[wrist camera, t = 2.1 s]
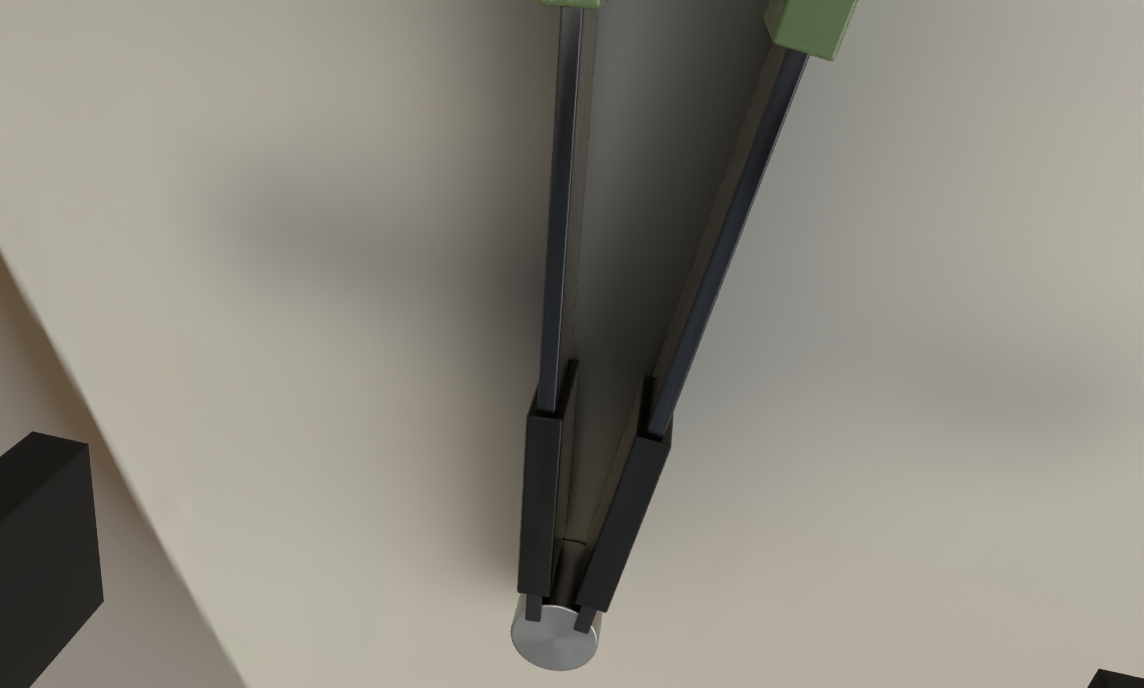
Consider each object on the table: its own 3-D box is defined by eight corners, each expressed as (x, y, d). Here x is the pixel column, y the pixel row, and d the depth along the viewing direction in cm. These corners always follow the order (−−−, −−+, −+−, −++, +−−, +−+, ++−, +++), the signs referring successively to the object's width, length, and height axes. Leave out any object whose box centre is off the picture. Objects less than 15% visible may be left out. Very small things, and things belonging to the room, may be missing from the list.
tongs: (661, 623, 25) (656, 711, 22) (462, 578, 25) (433, 660, 23) (885, -149, 16) (919, -157, 13) (574, -207, 16) (548, -225, 14)
